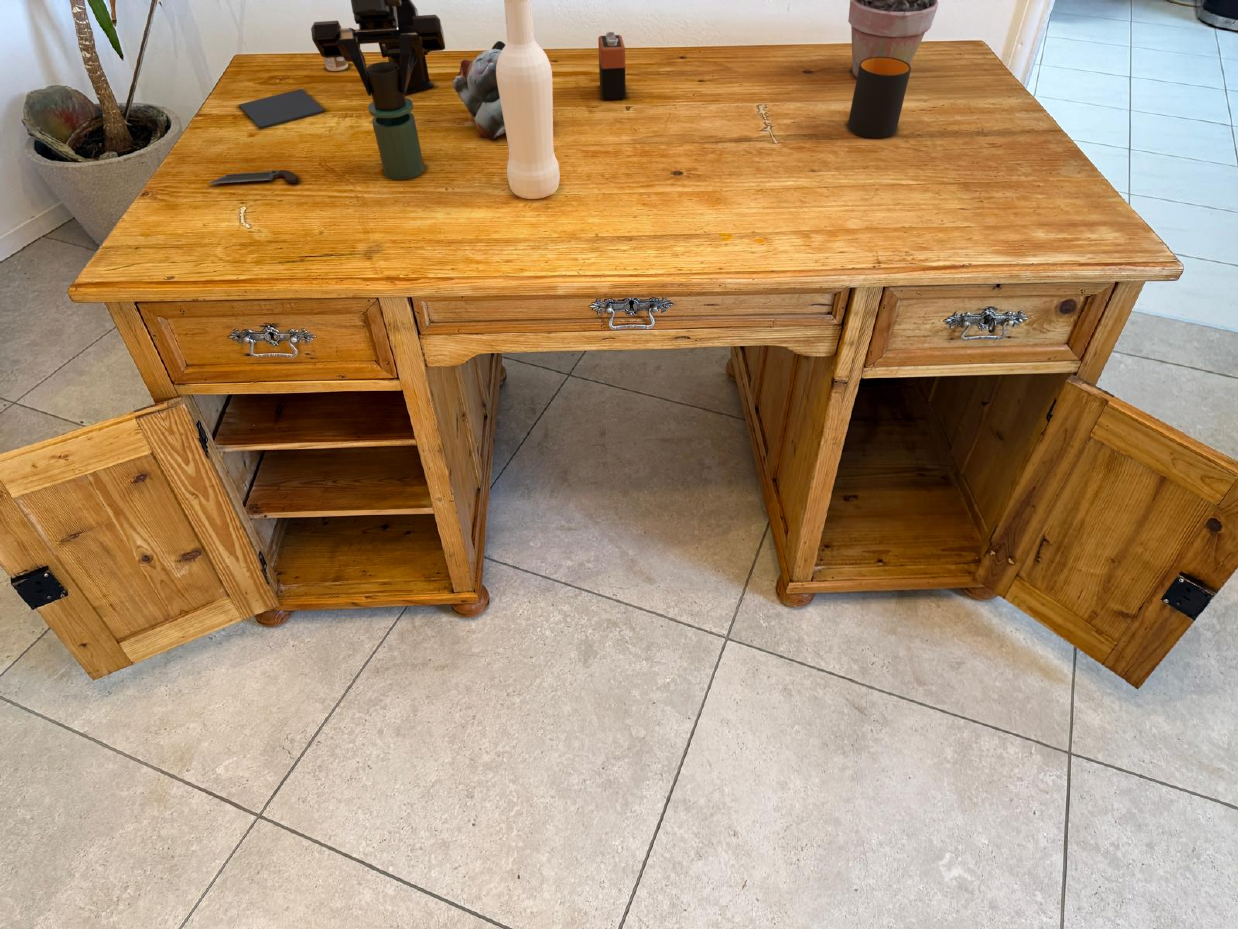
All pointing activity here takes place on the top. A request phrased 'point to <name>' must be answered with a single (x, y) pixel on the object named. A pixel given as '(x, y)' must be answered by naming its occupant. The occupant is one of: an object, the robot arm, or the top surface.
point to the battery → (612, 66)
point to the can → (399, 146)
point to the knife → (256, 177)
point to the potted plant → (888, 28)
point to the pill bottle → (335, 63)
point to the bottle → (527, 106)
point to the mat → (281, 108)
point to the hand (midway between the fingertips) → (386, 93)
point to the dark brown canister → (387, 91)
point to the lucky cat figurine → (482, 91)
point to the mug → (878, 97)
